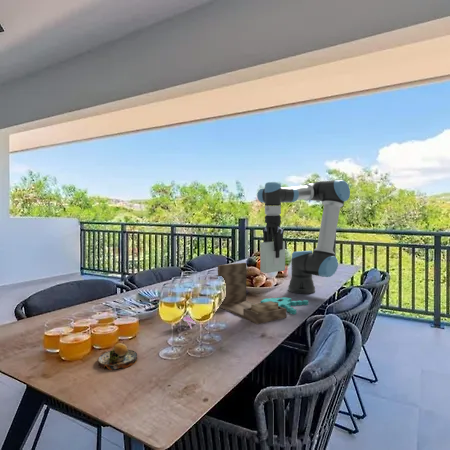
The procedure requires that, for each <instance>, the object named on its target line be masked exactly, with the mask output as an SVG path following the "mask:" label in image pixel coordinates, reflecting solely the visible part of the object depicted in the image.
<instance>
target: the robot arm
mask: <svg viewBox="0 0 450 450" xmlns="http://www.w3.org/2000/svg"><path fill="white" fill-rule="evenodd" d="M281 185H282V184H281V182H280V181H279V182H276V181H272V182H270V181H269V182H266V183H265V184H264V188H260V189H259V190H258V191H257V194H256V195H257V200H258V201H259V202H260V203H264V214H265V215H264V223H265V224H266V225H265V227H262V228H261V229H262V241H263V242H273V241H274V249H275V250H274V251H273V265H277V264H279V251H280V250H282V249H283V241H284V232H285V229H284V228H281V226H280V224H281V221H282V217H281V214H282V203H295V202H296V201H299V200H303V201H304V200H305V201H315V202H321V203H322V204H323V209H322V210H323V211H322V216H321V221H320V227H319V232H318V233H319V234H318V239H317V244H316V248H314V249H313V250H300V251H299V250H298V251H293V252H292V253H291V259H290V260H291V265H290V266H291V275H290V281H289V284H288V286H287V290H288V292H291V293H294V294H313V293H315V292H316V288H315V287H316V286H315V285H314V280H313V276H316V277H317V276H318V277H321V278H331V277H333V275H335V274H336V272H337V270H338V268H339V267H338V266H339V261H338V258H337V257H336V253H335V252H334V246H335V240H336V233H337V227H338V222H339V216H340V210H341V208H342V207H343V206H344V205H345V202H348V200H349V199H350V196H351V191H350V186H349V184H348V182H347V181H345V180H343V179H334V180H321V181H320V180H319V181H316V182H315V181H314V182H312V183H305V184H303V185H297V186H295V185H294V186H281Z"/></svg>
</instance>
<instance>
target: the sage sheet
mask: <svg viewBox="0 0 450 450" xmlns="http://www.w3.org/2000/svg"><path fill="white" fill-rule="evenodd" d="M259 245H260V247H259V249H260V250H259V251H260V252H259V253H260V254H259V255H260V261H259V262H260V264H259V265H260V267H259V268H260V273H263V274H270V273H275V272H276V273H277V272H284V271H286V241H284V240H283V249H282V250H280V251H279V264H277V265H273V251H274V250H275V249H274V241H273V240H272V242H260V243H259Z"/></svg>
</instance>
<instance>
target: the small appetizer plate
mask: <svg viewBox="0 0 450 450" xmlns="http://www.w3.org/2000/svg"><path fill="white" fill-rule="evenodd" d="M128 348H129V347H128V346H127V345H126V344H125V341H123V342H119V343H116V344H115V345H114V346H113V348H112V350H109V351H105V352H104V353H101V354H100V355H99V357H98V358H97V363H98V366H99V369H100V368H101V369H103V370H105V367H106V368H107V369H108V370H109V371H116V370H117V369H119V370H120V368H122V369H127V368H129V367H131V366H133V365H135V364H136V363H137V362H138V353H137V352H136V351H134V350H132V349H128Z"/></svg>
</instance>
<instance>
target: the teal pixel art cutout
mask: <svg viewBox="0 0 450 450" xmlns="http://www.w3.org/2000/svg"><path fill="white" fill-rule="evenodd" d="M269 301H272V302H275V303H278V306H280V307H283V308H286V313H289V315H297V309H296V308H294V307H296V306H308V305H309V303H310V302H309V300H307V299H303V300H292V297H286V296H283V297H275V298H274V297H270V298H268V297H267V298H264V299H262V300H260V303H263V302H269ZM291 306H292V307H291Z"/></svg>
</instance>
